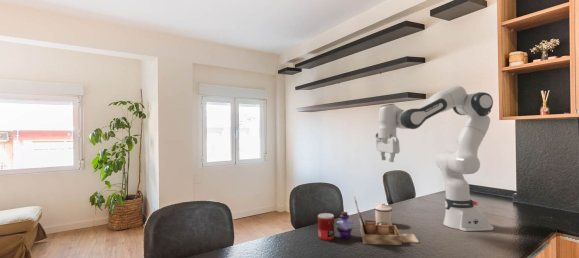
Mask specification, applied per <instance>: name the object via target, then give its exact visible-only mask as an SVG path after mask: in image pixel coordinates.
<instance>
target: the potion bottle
mask: <svg viewBox="0 0 579 258" xmlns="http://www.w3.org/2000/svg"><path fill="white" fill-rule="evenodd" d="M339 218H340V219H341V220H337V221H336V222H335V224H336V231H337V232H338V235H339V238H340V239H342V240H343V239H345V240H349V239H351V236H352V230H353V229H354V228H353V227H354V222H353V221H351V220H349V218H350V214H348V212H347V211H341V212H340V215H339Z"/></svg>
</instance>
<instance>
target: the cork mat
mask: <svg viewBox="0 0 579 258" xmlns="http://www.w3.org/2000/svg"><path fill="white" fill-rule="evenodd" d="M400 234H401V235H402V244H403V243H404V244H405V243H407V244H409V243H410V244H414V243H415V244H420V241H419V239H418V238H417V236H416V235H415V234H414V233H400Z"/></svg>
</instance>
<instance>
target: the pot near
mask: <svg viewBox="0 0 579 258" xmlns="http://www.w3.org/2000/svg"><path fill="white" fill-rule="evenodd" d="M377 226H378V235H389V223H387V222H377Z"/></svg>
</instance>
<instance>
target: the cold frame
mask: <svg viewBox="0 0 579 258" xmlns="http://www.w3.org/2000/svg"><path fill="white" fill-rule="evenodd" d="M352 196H353V198H354V203H355V207H356V211H357V214H358V215H357V216H358V219H359V222H360V223H359V224H360V226H359V227H360V234H361V239H362V243H363V245H364V244H365V245H387V246H388V245H390V246H391V245H392V246H393V245H394V246H403V242H402V235H401V234H402V233H401V232H400V230H399V229H398V227H397V226H396V224H395V225H393V224H392V225H389V235H378V226H377V225H376V235H369V234H365V223H364V220H363V217H362V215H361V212H360V209H359V206H358V202H357V199H356V195H355V193H352Z"/></svg>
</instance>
